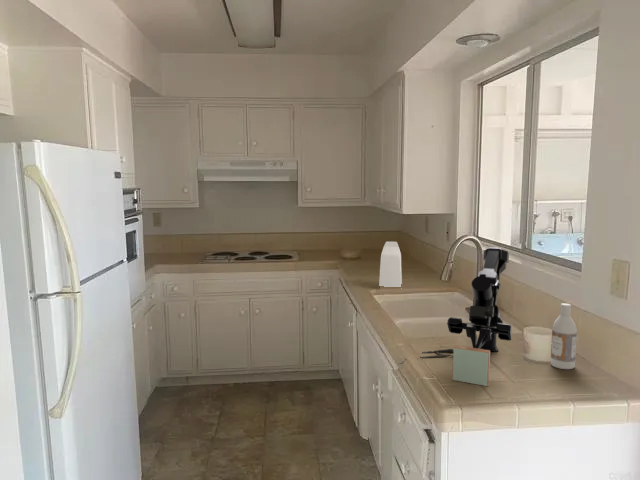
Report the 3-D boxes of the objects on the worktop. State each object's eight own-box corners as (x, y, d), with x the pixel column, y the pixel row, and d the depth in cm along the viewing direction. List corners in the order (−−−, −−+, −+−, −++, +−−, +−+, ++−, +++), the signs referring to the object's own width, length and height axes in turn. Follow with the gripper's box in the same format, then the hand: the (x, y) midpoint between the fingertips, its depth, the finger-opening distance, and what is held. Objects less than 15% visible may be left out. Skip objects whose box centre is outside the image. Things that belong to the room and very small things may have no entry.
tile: (453, 377, 146) (454, 345, 145) (488, 383, 141) (490, 350, 140) (452, 380, 144) (453, 347, 143) (487, 386, 139) (489, 352, 138)
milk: (378, 289, 271) (379, 242, 268) (380, 285, 282) (381, 240, 279) (400, 290, 269) (401, 243, 266) (402, 286, 280) (402, 240, 277)
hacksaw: (453, 352, 170) (453, 348, 170) (465, 359, 160) (465, 355, 160) (385, 357, 167) (385, 353, 167) (393, 365, 157) (393, 361, 157)
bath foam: (545, 363, 157) (548, 302, 155) (560, 360, 160) (564, 300, 158) (563, 371, 151) (567, 307, 149) (579, 368, 154) (583, 305, 152)
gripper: (449, 291, 155) (440, 335, 146) (512, 298, 146) (506, 344, 138) (454, 310, 163) (445, 352, 154) (514, 317, 154) (508, 362, 145)
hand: (475, 352), depth 148 cm, fingers closed
